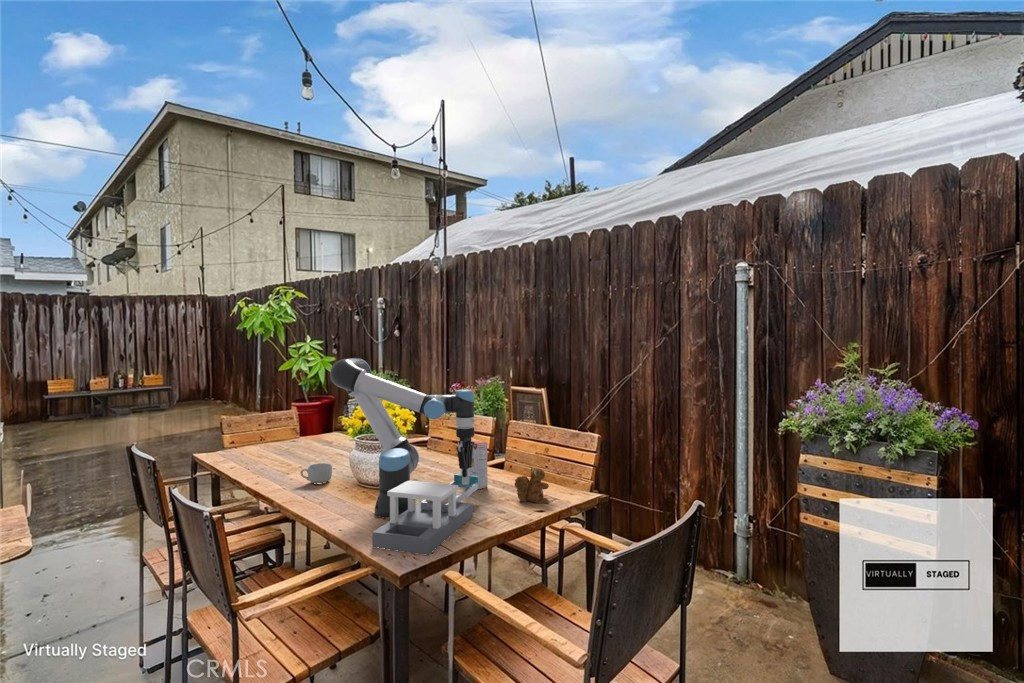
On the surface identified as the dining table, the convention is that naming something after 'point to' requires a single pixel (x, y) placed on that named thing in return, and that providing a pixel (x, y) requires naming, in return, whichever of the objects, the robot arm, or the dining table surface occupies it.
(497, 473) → the dining table surface
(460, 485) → the sled
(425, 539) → the tunnel track
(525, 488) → the stuffed squirrel
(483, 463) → the cracker box
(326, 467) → the teacup
